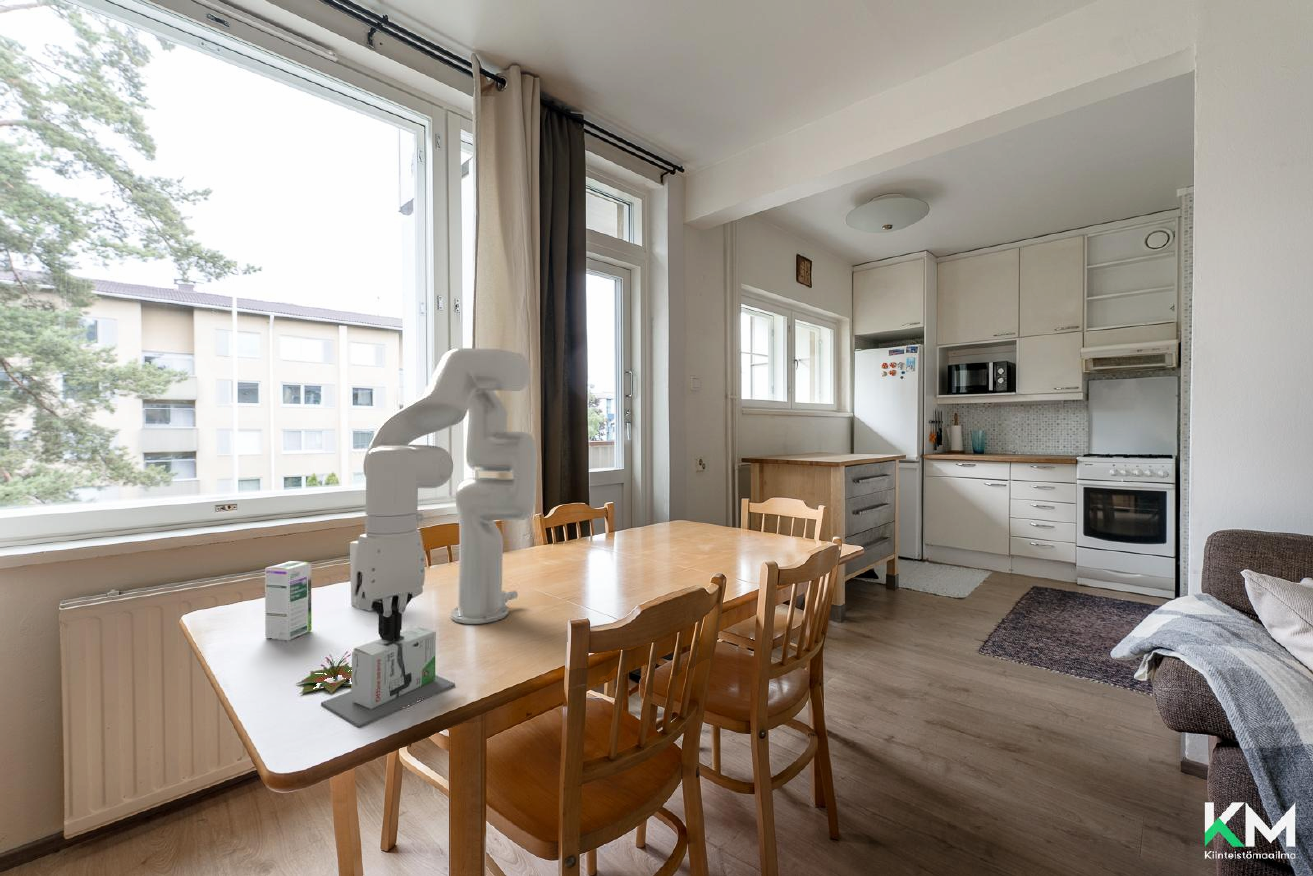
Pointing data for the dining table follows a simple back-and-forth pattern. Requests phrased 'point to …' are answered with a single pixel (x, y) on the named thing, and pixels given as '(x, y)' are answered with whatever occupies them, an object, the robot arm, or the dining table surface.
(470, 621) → the robot arm
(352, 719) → the mat
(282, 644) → the dining table surface
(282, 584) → the syrup box
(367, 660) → the ink box
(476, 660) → the dining table surface
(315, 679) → the lily flower
